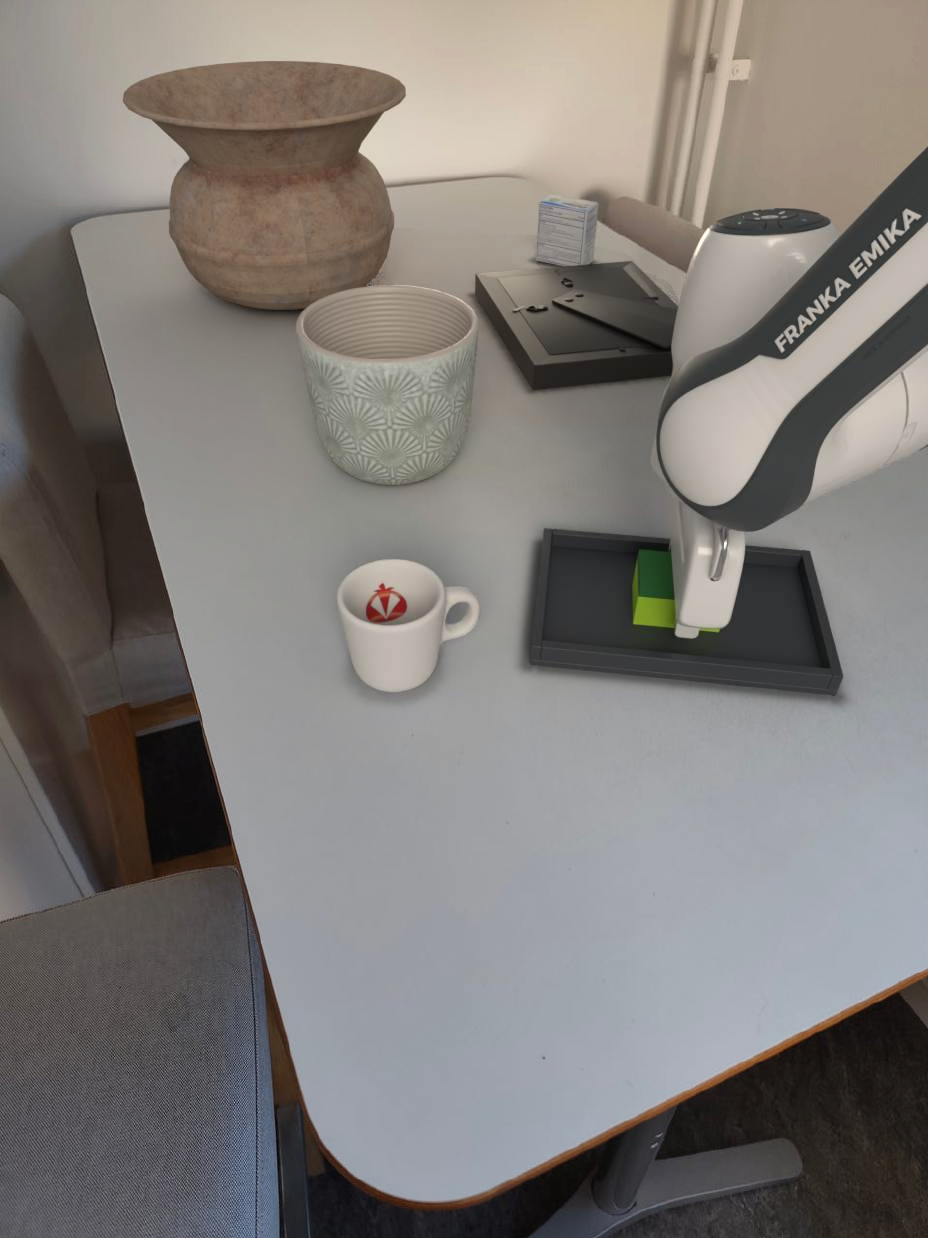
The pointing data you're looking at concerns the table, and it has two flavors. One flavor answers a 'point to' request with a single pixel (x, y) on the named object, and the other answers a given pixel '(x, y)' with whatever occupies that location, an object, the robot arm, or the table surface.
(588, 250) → the medicine box
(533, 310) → the picture frame
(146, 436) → the table surface
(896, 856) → the table surface
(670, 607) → the sponge
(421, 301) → the planter
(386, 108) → the pot
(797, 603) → the tray
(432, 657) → the cup
